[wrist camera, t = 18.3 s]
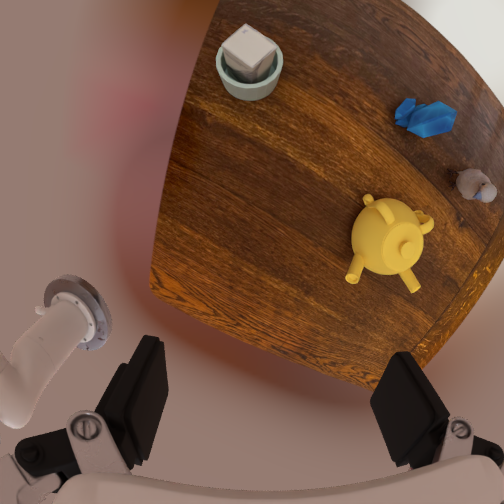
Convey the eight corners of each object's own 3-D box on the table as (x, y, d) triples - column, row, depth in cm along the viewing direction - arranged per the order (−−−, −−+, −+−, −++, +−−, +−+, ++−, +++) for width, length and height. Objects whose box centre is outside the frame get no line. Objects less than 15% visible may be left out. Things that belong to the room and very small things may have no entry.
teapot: (330, 263, 47) (350, 291, 37) (350, 186, 43) (379, 195, 32) (397, 275, 48) (426, 302, 37) (418, 207, 44) (454, 221, 33)
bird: (424, 172, 42) (477, 182, 27) (470, 161, 40) (521, 168, 26) (428, 198, 43) (480, 215, 29) (473, 184, 42) (523, 197, 27)
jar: (216, 94, 38) (208, 81, 31) (230, 48, 36) (226, 28, 28) (270, 106, 39) (274, 95, 31) (283, 60, 36) (289, 41, 29)
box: (227, 74, 37) (217, 43, 24) (246, 57, 36) (244, 21, 23) (252, 94, 38) (252, 68, 26) (271, 76, 37) (278, 45, 24)
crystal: (394, 102, 32) (452, 83, 28) (381, 107, 40) (432, 89, 35) (414, 148, 34) (470, 126, 30) (398, 145, 42) (448, 126, 37)
